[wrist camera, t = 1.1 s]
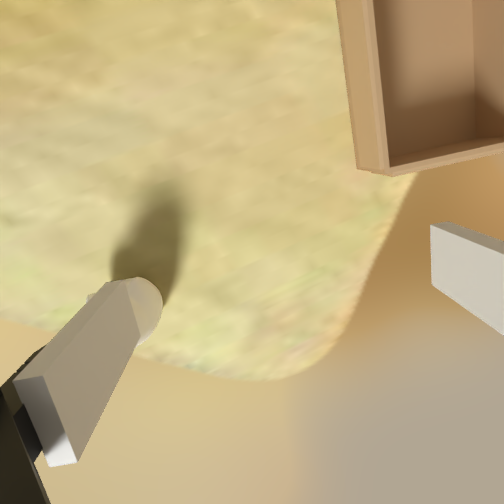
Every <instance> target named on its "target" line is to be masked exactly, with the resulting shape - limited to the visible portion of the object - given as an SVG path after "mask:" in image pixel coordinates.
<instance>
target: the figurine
mask: <svg viewBox="0 0 504 504" xmlns="http://www.w3.org/2000/svg"><path fill="white" fill-rule="evenodd" d="M124 281H125V285H126V288H127V291H128V295H129V298H130V302H131V305H132V308H133V312H134V315H135V318H136V322H137V325H138V329H139V332H140V335H141V337H140V339H139V341H138V343H137V345H136V347H137V346H138V345H140V344H141V343H143V342H144V341H145V340H147V339H148V338H149V337H150V335H151V334H152V333H153V331H154V330H155V328H156V327H157V325H158V322H159V320H160V317H161V314H162V309H163V301H162V296H161V294H160V291H159V290H158V288H157V287H156V286H155V285H154V284H152V283H151V282H150V281H148V280H147V279H144V278H141V277H135V278H130V279H125V280H124ZM95 294H96V293H94V294H90V295H88V297H87V299H86V303H87V302H88V301H89V300H90V299H91V298H92V297H93V296H94V295H95ZM136 347H135V348H136Z"/></svg>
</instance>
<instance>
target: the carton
mask: <svg viewBox="0 0 504 504" xmlns="http://www.w3.org/2000/svg"><path fill="white" fill-rule="evenodd" d="M336 7H337V15H338V23H339V30H340V38H341V46H342V54H343V62H344V70H345V78H346V85H347V93H348V101H349V109H350V117H351V125H352V133H353V140H354V148H355V156H356V164H357V169H360V170H365V171H371V173H376V174H381V175H386V176H391V177H395V176H399V175H404V174H408V173H413V172H417V171H422V170H426V169H430V168H435V167H439V166H444V165H448V164H453V163H457V162H462V161H466V160H470V159H475V158H479V157H484V156H488V155H493V154H498V153H502V152H504V0H336Z"/></svg>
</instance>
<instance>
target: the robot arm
mask: <svg viewBox="0 0 504 504" xmlns="http://www.w3.org/2000/svg"><path fill="white" fill-rule="evenodd" d="M430 234H431V235H430V236H431V270H432V285H433V286H434V287H436V288H437V289H439V290H440V291H442V292H443V293H444V294H446V295H447V296H449V297H450V298H451V299H453V300H454V301H456V302H457V303H458V304H460V305H461V306H463V307H464V308H465V309H467V310H468V311H470V312H471V313H472V314H474V315H476V316H477V317H478V318H480V319H481V320H483V321H484V322H485V323H487V324H488V325H489V326H491V327H492V328H494V329H495V330H496V331H498V332H499V333H501V334H502V335H504V241H502V240H499V239H496V238H493V237H490V236H487V235H485V234H482V233H479V232H476V231H474V230H471V229H468V228H465V227H462V226H460V225H457V224H454V223H451V222H442V223H437V224H431V225H430ZM140 337H141V335H140V332H139V329H138V325H137V322H136V318H135V315H134V312H133V308H132V305H131V302H130V298H129V295H128V291H127V288H126V285H125V281H124V279H123V280H117V281H111V282H106V283H105V284H104V285H103V286H102V287H101V288H100V289H99V290H98V291H97V293H96V294H95V295H94V296H93V297H92V298H91V299H90V300H89V301H88V302H87V303H86V304H85V305H84V306H83V307H82V308H81V309H80V310H79V311H78V312H77V314H76V315H75V316H74V317H73V318H72V319H71V320H70V321H69V322H68V323H67V324H66V325H65V326H64V327H63V328H62V329H61V330H60V331H59V332H58V333H57V335H56V336H55V337H54V338H53V339H52V340H51V341H50V342H49V343H48V344H47V345H45V346H44V347H42V348H41V349H39V350H38V351H36V352H34V353H33V354H32V355H31V356H30V357H29V358H28V359H27V360H26V361H25V364H23V365H22V366H21V367H20V368H19V369H18V370H17V372H16V373H14V374H13V375H12V376H11V377H10V378H9V379H8V380H7V381H6V382H5V383H4V384H3V385H2V386H1V387H0V504H51V503H50V501H49V498H48V496H47V494H46V491H45V488H44V486H43V484H42V481H41V479H40V476H39V474H38V472H37V469H36V467H35V465H34V462H35V460H36V458H37V457H38V455H39V454H40V452H41V451H43V453H44V455H45V458H46V460H47V462H48V465H49V467H54V466H59V465H65V464H71V463H77V462H78V461H79V459H80V457H81V455H82V452H83V451H84V449H85V447H86V445H87V442H88V441H89V438H90V437H91V434H92V433H93V430H94V428H95V427H96V425H97V423H98V421H99V419H100V416H101V415H102V413H103V411H104V409H105V406H106V405H107V403H108V401H109V398H110V397H111V395H112V393H113V391H114V389H115V387H116V384H117V383H118V381H119V378H120V377H121V375H122V373H123V371H124V369H125V367H126V365H127V362H128V361H129V359H130V357H131V355H132V353H133V351H134V349H135V347H136V345H137V343H138V341H139V339H140Z"/></svg>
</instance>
